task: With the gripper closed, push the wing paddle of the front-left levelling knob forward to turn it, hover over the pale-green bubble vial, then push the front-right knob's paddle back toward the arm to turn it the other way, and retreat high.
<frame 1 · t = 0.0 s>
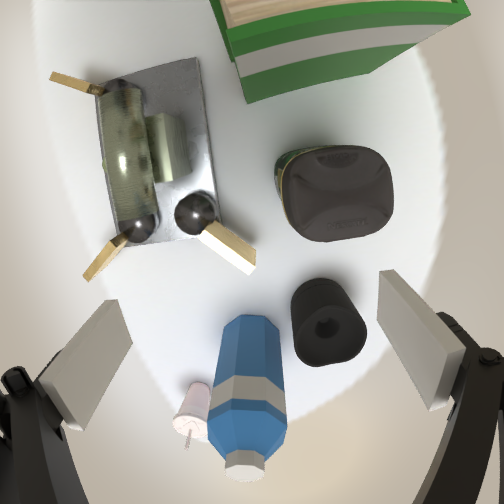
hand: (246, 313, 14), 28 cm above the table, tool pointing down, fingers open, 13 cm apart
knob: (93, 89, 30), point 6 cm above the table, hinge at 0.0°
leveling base: (156, 153, 39), on the table
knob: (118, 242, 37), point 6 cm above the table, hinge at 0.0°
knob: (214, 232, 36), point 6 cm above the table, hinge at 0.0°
coffee jar: (309, 176, 39), on the table
water bottle: (251, 337, 48), on the table
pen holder: (318, 302, 46), on the table
hardback book: (301, 62, 34), on the table
smoothie: (200, 388, 52), on the table
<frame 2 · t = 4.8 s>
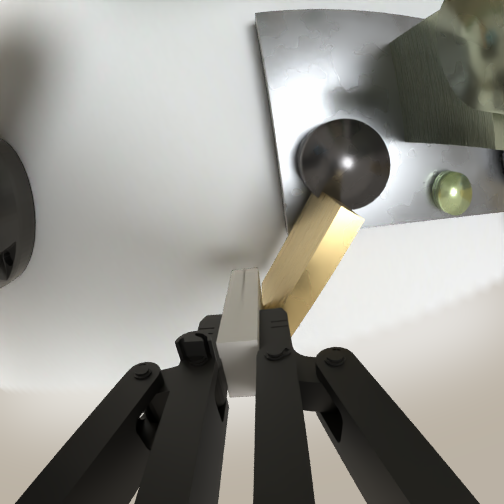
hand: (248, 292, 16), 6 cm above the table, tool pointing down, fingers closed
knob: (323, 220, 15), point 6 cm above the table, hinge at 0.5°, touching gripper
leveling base: (429, 115, 18), on the table
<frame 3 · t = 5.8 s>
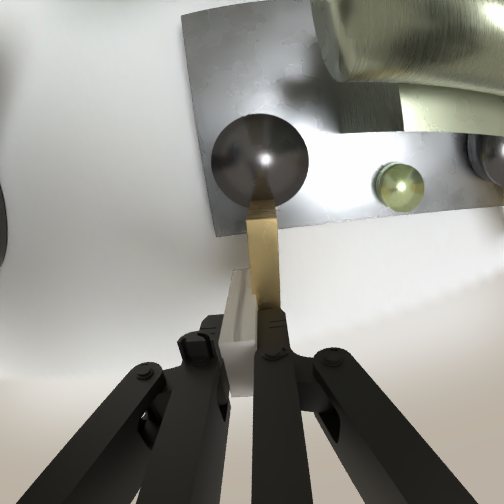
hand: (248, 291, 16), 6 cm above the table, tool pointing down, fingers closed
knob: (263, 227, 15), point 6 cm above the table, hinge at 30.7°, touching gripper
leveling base: (377, 104, 18), on the table
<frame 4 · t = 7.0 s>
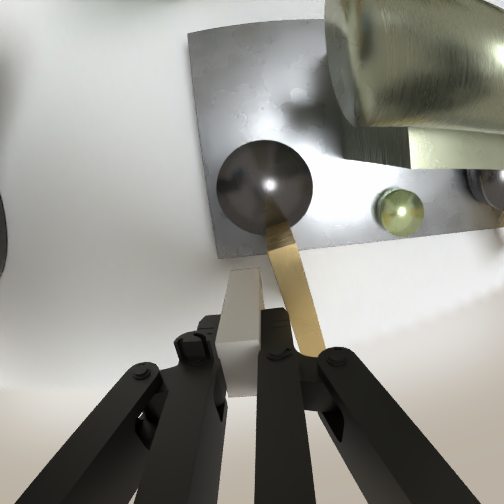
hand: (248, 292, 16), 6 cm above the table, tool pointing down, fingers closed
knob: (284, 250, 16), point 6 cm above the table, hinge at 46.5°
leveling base: (380, 128, 18), on the table
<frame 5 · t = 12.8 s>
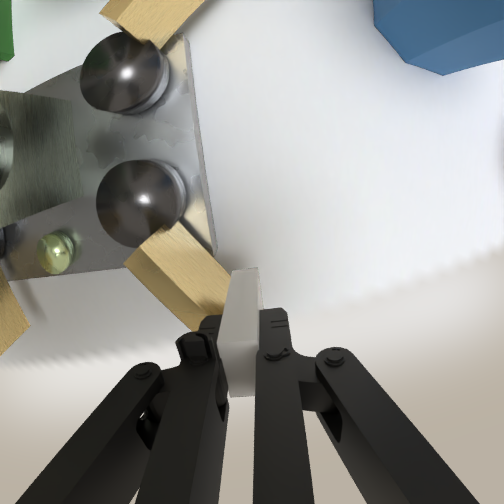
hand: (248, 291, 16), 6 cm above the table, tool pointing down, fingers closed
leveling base: (58, 176, 20), on the table
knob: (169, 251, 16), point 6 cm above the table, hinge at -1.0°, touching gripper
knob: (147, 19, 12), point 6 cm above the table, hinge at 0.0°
water bottle: (421, 24, 16), on the table
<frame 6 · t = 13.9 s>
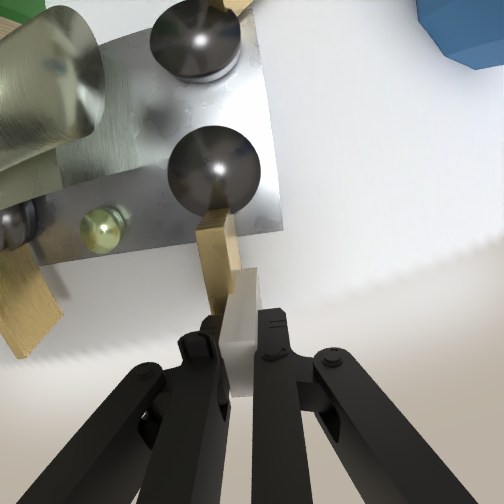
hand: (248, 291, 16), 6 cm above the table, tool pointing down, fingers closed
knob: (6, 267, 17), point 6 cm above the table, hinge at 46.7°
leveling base: (102, 149, 19), on the table
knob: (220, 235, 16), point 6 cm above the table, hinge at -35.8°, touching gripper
water bottle: (455, 22, 15), on the table
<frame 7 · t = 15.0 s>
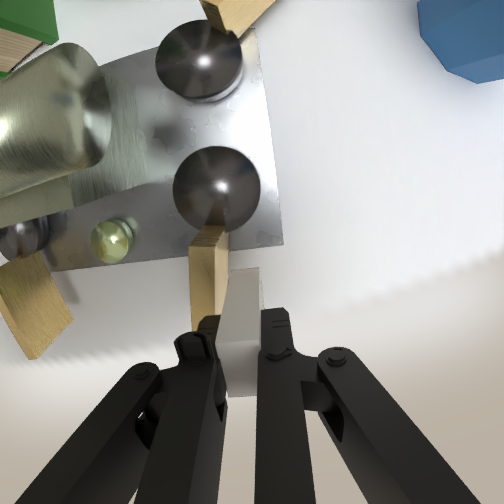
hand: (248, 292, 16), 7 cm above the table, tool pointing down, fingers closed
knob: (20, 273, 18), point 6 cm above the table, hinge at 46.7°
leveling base: (112, 163, 21), on the table
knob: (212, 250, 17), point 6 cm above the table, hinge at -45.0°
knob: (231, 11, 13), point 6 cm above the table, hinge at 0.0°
water bottle: (458, 36, 16), on the table
hardback book: (25, 4, 15), on the table
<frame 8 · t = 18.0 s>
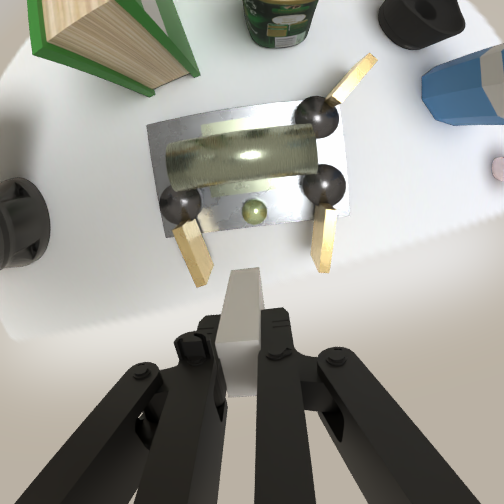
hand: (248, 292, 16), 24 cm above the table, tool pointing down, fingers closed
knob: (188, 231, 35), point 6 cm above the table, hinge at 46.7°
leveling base: (249, 165, 38), on the table
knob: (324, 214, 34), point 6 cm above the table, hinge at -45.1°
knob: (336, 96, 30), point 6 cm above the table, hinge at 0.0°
coffee jar: (274, 20, 31), on the table
water bottle: (444, 95, 33), on the table
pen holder: (403, 25, 30), on the table
hardback book: (157, 35, 32), on the table
smoothie: (497, 168, 36), on the table
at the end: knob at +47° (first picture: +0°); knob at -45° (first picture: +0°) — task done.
